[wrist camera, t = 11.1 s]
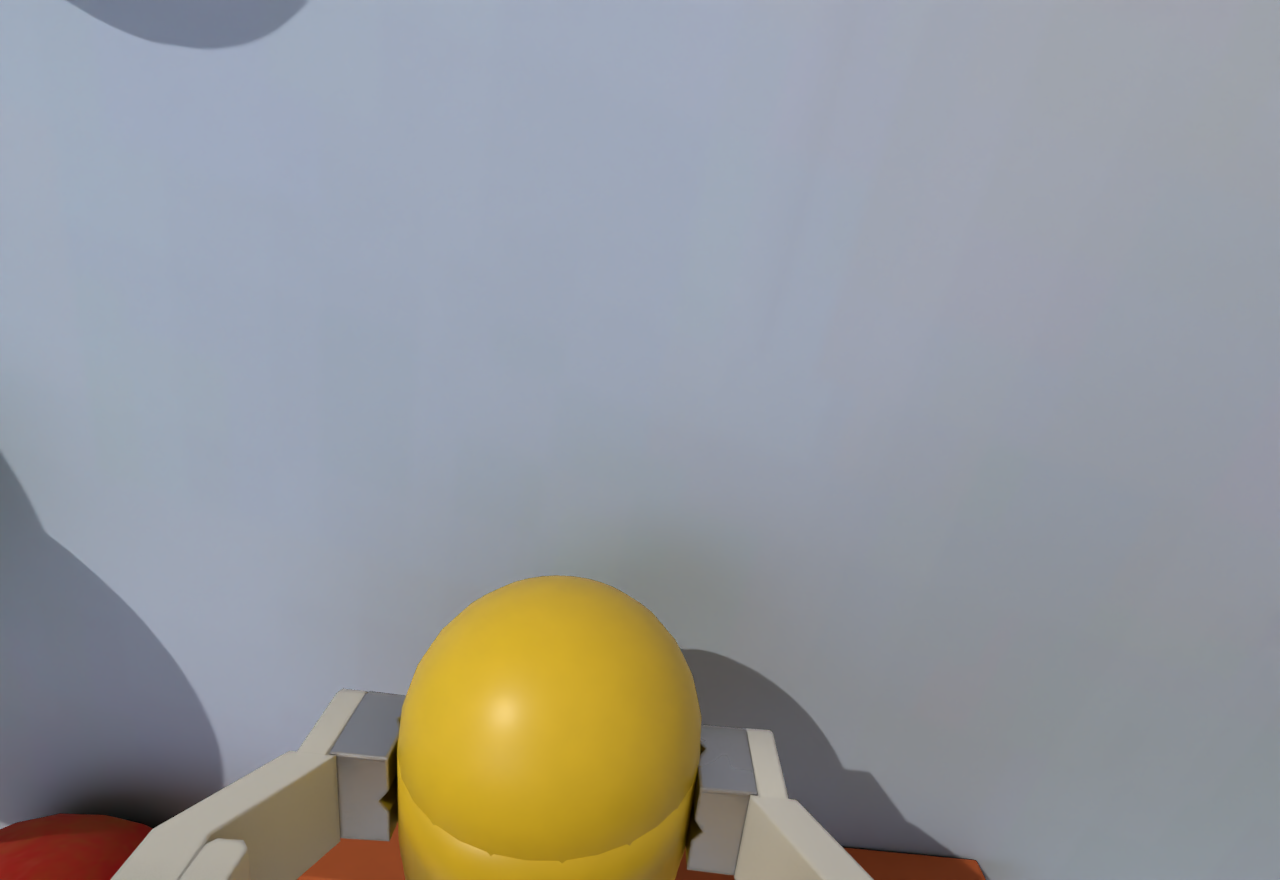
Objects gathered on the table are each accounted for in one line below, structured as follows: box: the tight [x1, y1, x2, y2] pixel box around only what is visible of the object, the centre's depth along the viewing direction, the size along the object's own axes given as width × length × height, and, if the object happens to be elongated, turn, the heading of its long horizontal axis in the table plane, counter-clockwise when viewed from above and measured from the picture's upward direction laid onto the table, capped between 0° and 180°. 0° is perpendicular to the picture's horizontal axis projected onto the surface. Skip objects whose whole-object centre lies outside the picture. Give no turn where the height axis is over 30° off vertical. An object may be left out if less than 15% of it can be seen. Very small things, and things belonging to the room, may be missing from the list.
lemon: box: [397, 576, 701, 880], centre depth 12 cm, size 7×5×5 cm
